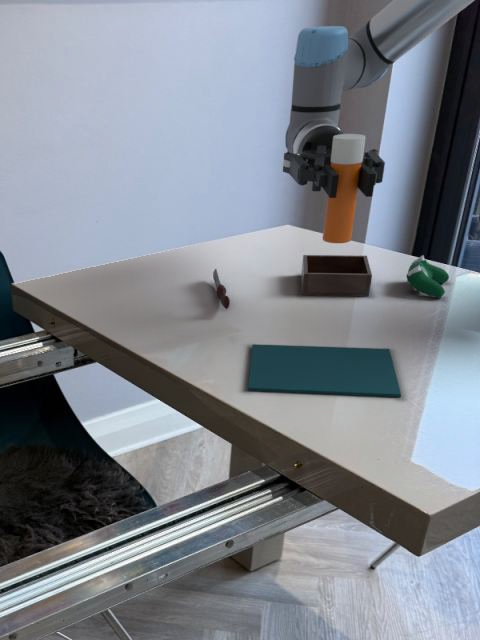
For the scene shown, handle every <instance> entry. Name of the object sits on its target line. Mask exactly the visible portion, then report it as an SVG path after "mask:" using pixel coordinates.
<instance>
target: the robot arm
mask: <svg viewBox="0 0 480 640" xmlns="http://www.w3.org/2000/svg"><path fill="white" fill-rule="evenodd" d="M473 2H475V0H392V1H390V2H389V3H388V4H387V5H386V6H384V7H383V8H382V9H381V10H380V11H378V12H377V13H376V14H375V15H374V16H373V17H371V19H369V21H367V22H366V23H365V24H363V25H362V26H361V27H360V28H358V29H357V30H356V31H355V32H354V33H353V34H351V35H350V36H349V32H348V28H346V26H341V25H326V26H325V25H324V26H323V25H322V26H312V27H311V26H309V27H305V28H303V29H301V30H300V32H299V33H298V35H297V41H296V47H295V54H294V57H293V60H294V61H293V62H294V64H293V80H292V92H291V108H290V113H289V124H288V126H287V128H286V131H285V136H284V140H285V148H286V150H287V152H284V153H283V161H282V162H283V164H282V172H283V173H286V174H287V175H290V177H291V178H292V179H293V180H294V181H295V183H297V185H300V186H302V187H303V186H305V185H308V182H312V184H311V192H321V191H322V189H323V191H324V192H325V194H326V195H327V196H329V197H330V198H336V195H337V186H338V178H339V175H338V174H337V173H336V171H335V170H334V169H333V168H332V167H331V153H332V144H333V136H335V135H340V134H345V132H343V131H342V130H341V129H340V128H339V126H338V125H339V121H340V120H339V118H340V112H341V111H340V110H341V102H342V95H343V92H346V91H350V90H351V91H352V90H355V89H362V88H367V87H369V86H371V85H373V83H376V82H378V81H379V80H381V79H382V78H383V77H384V76H385V74H386V73H387V72H388V70H389V67H391V66H392V65H393V64H394V63H395V62H397V60H399V59H400V58H402V57H403V56H404V55H405V54H407V53H408V52H410V51H411V50H412V49H413V48H415V47H416V46H417V45H418V44H421V42H422V41H424V40H425V39H426V38H428V37H429V36H430V35H432V34H433V33H434V32H436V30H438V29H439V28H441V27H442V26H443V25H445V24H446V23H447V22H448V21H450V20H451V19H452V18H454V17H455V16H456V15H458V14H459V13H460V12H461V11H463V10H464V9H466V8H467V7H468V6H469V5H471V4H472V3H473ZM385 165H386V162H385V161H384V159H383V158H382V157H381V156H380V155H379V150H378V149H376V148H373V149H370V150H367V151H366V150H364V153H363V160H362V162H361V169H360V177H359V185H358V191H360V192H361V193H362V195H364V196H365V197H366V198H372V197H373V195H374V187H375V186H376V185H377V184H381V183H383V179H384V172H385Z"/></svg>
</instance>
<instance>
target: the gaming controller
mask: <svg viewBox="0 0 480 640" xmlns="http://www.w3.org/2000/svg"><path fill="white" fill-rule="evenodd" d="M449 278H450V275H449V273H448V272H447V271H446V270H445V269H443V268H441V267H439V266H436V265H433V264H431V263H429V262H428V261H427V260H426V259H425V256H424V254H423V255H420V257H417V258H416V259H414V260H413V261H412V262H411V264H410V266H409V268H408V270H407V273H406V279H407V281H408V283H409V286H411V287H412V288H413V290H414V291H415V292H420V293H422V294H424V295H426V296H429V297H432V298H435V299H441V298H442V297H443V296H444V295H445V293H446V291H445V288H444V287H443V285H441V284H445V283H447V282H448V281H449Z"/></svg>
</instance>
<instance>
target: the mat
mask: <svg viewBox="0 0 480 640" xmlns="http://www.w3.org/2000/svg"><path fill="white" fill-rule="evenodd" d="M250 356H251V357H250V365H249V367H250V368H249V376H248V384H247V385H248V386H247V391H251V392H274V393H291V394H292V393H293V394H295V393H296V394H314V395H315V394H319V395H338V396H339V395H340V396H342V395H343V396H360V397H365V396H366V397H386V398H401V397H402V393H401V389H400V385H399V382H398V381H399V380H398V378H397V377H398V376H397V373H396V369H395V366H394V361H393V358H392V355H391V350H390V348H379V347H377V348H376V347H375V348H374V347H349V346H348V347H345V346H344V347H343V346H316V345H315V346H314V345H285V344H284V345H283V344H256V343H253V344H252V347H251V355H250Z"/></svg>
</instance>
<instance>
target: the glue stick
mask: <svg viewBox="0 0 480 640" xmlns="http://www.w3.org/2000/svg"><path fill="white" fill-rule="evenodd" d="M366 137H367V136H366V135H365V134H361V133H360V134H359V133H344V134H340V135H335V136H333V144H332V153H331V167H332V168H333V169H334V170H335V171H336V173H337V174H338V175H339V178H338V186H337V195H336V198H330V197H329V196H328V195H327V196H326V206H325V213H324V222H323V223H324V224H323V232H322V241H323V242H326V243H328V244H329V243H330V244H347V243H349V242H351V241H352V237H353V229H354V221H355V213H356V206H357V199H358V191H359V188H358V185H359V177H360V169H361V162H362V160H363V155H364V153H365V145H366Z"/></svg>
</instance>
